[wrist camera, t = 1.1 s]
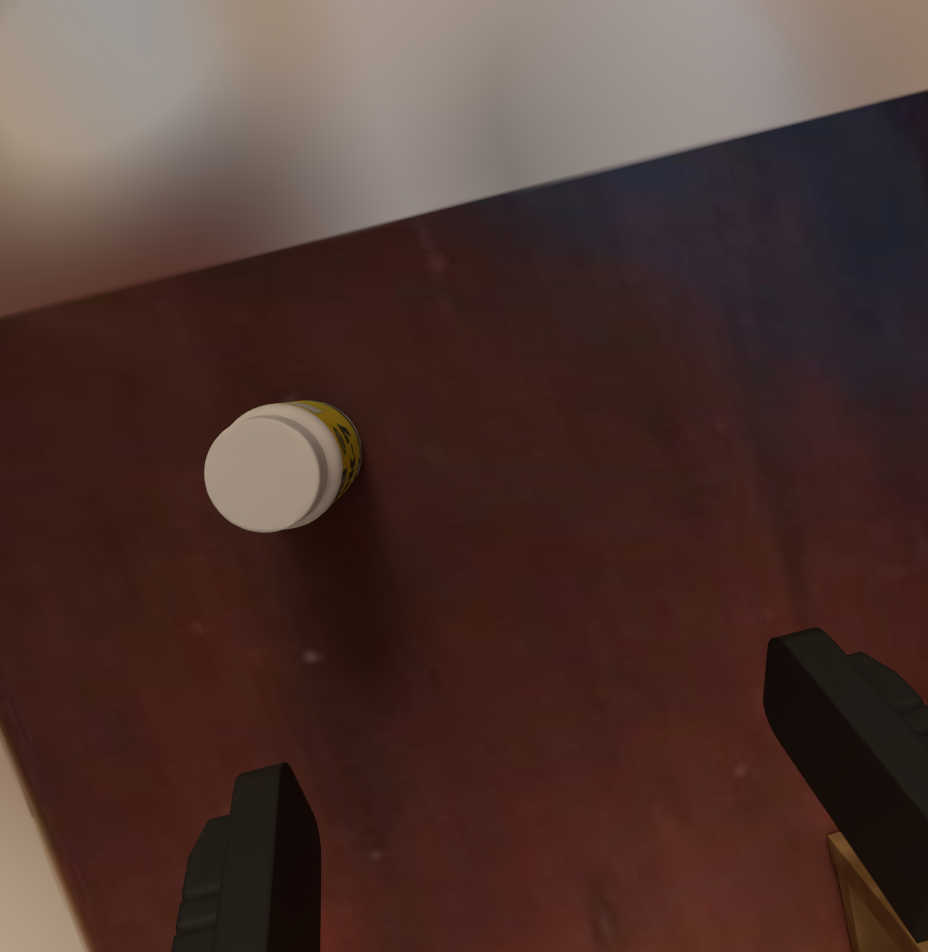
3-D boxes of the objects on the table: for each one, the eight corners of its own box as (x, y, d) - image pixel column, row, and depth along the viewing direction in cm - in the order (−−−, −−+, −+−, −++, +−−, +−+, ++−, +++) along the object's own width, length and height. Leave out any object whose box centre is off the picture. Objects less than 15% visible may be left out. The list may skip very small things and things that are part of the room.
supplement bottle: (358, 507, 32) (324, 553, 24) (257, 496, 32) (187, 538, 23) (368, 405, 31) (336, 414, 23) (265, 393, 31) (195, 399, 23)
